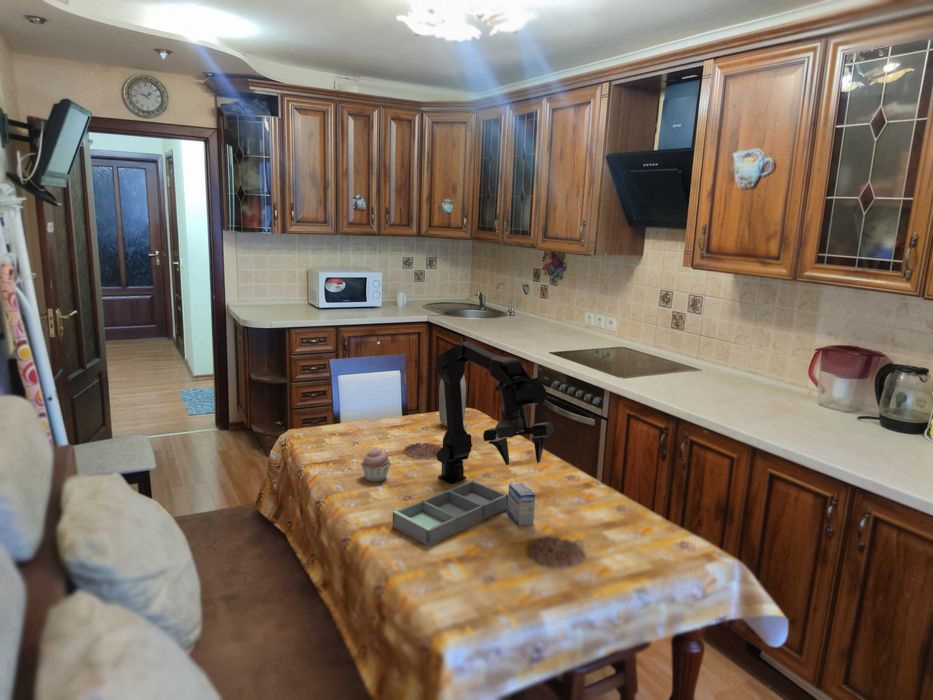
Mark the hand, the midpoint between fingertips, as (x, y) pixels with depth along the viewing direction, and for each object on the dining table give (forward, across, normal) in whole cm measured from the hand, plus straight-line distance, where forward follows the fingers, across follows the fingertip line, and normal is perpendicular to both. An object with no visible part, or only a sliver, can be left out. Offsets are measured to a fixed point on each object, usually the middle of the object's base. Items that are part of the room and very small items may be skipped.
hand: (523, 463), depth 168 cm
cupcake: (+2, -50, 0) cm, 50 cm away
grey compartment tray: (+11, -19, -9) cm, 24 cm away
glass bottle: (-6, -55, +54) cm, 77 cm away
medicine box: (+15, -4, 0) cm, 15 cm away
